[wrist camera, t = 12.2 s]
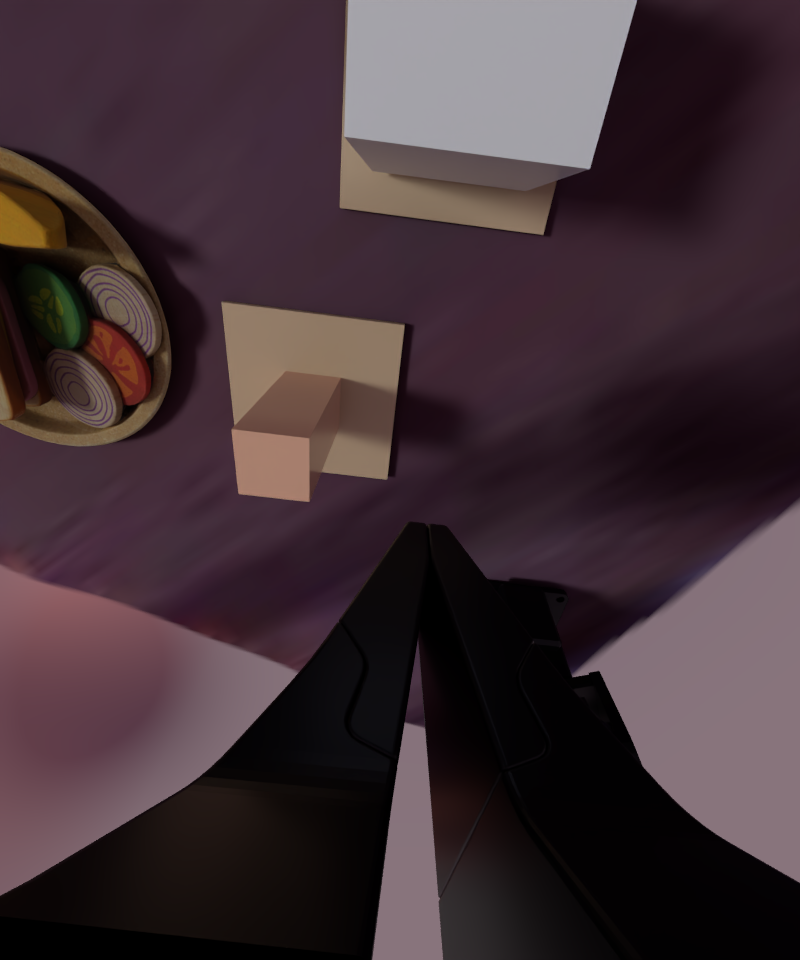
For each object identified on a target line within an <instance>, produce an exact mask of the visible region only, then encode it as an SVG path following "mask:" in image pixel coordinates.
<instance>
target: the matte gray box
mask: <svg viewBox="0 0 800 960" xmlns="http://www.w3.org/2000/svg"><path fill="white" fill-rule="evenodd" d="M636 2H637V0H348V22H347V56H346V89H345V123H344V137H345V138H346V140H347V141H348V142H349V143H350V145H351V146H352V147H353V148H354V149H355V151H356V152H357V153H358V154H359V156H360V157H361V158H362V159H363V160H364V162H365V163H366V164H367V165H368V167H369V168H370V169H371V170H372V171H375V172H382V173H390V174H398V175H405V176H413V177H421V178H428V179H436V180H444V181H451V182H459V183H467V184H474V185H482V186H490V187H497V188H505V189H513V190H520V191H528V190H531V189H534V188H537V187H539V186H542V185H545V184H548V183H551V182H554V181H557V180H560V179H563V178H566V177H568V176H571V175H574V174H577V173H580V172H583V171H586V170H589V169H590V167H591V163H592V160H593V156H594V153H595V149H596V145H597V142H598V138H599V135H600V131H601V128H602V124H603V120H604V117H605V113H606V110H607V106H608V103H609V99H610V95H611V92H612V88H613V85H614V81H615V78H616V74H617V70H618V67H619V63H620V60H621V56H622V53H623V49H624V45H625V42H626V38H627V35H628V31H629V27H630V24H631V20H632V17H633V13H634V10H635V6H636Z"/></svg>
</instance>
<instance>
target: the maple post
mask: <svg viewBox="0 0 800 960" xmlns="http://www.w3.org/2000/svg"><path fill="white" fill-rule="evenodd" d="M347 22H348V0H346V21H345V53H344V86H343V119H342V151H341V184H340V208H343V209H351V210H358V211H366V212H373V213H381V214H388V215H396V216H403V217H411V218H418V219H426V220H433V221H441V222H449V223H456V224H464V225H471V226H479V227H486V228H494V229H501V230H509V231H516V232H524V233H531V234H539V235H543V234H544V230H545V226H546V222H547V218H548V214H549V210H550V206H551V202H552V198H553V194H554V190H555V187H556V183H557V181H554V182H551V183H548V184H545V185H542V186H539V187H537V188H534V189H531V190H528V191H520V190H513V189H505V188H497V187H490V186H482V185H474V184H467V183H459V182H451V181H444V180H436V179H428V178H421V177H413V176H405V175H398V174H390V173H382V172H375V171H372V170H371V169H370V168H369V167H368V165H367V164H366V163H365V162H364V160H363V159H362V158H361V157H360V156H359V154H358V153H357V152H356V151H355V149H354V148H353V147H352V146H351V145H350V143H349V142H348V141H347V140H346V138H345V137H344V123H345V89H346V56H347Z"/></svg>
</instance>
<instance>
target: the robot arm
mask: <svg viewBox="0 0 800 960" xmlns="http://www.w3.org/2000/svg"><path fill="white" fill-rule="evenodd" d="M558 597H560V598H558ZM567 602H568V596H567V594H566V592H565V591H564V590H561V589H553V588H544V587H535V586H526V585H516V584H507V583H498V582H489V581H488V580H487V578H486V577H485V576H484V574H483V573H482V572H481V570H480V569H479V568H478V566H477V565H476V564H475V563H474V561H473V560H472V559H471V557H470V556H469V555H468V553H467V552H466V551H465V549H464V548H463V547H462V545H461V544H460V543H459V542H458V540H457V539H456V538H455V536H454V535H453V534H452V532H451V531H450V530H449V528H448V527H447V526H445V525H436V524H428V525H427V526H426V524H425V523H419V522H407V523H406V524H405V526H404V527H403V529H402V530H401V532H400V533H399V534H398V536H397V537H396V539H395V540H394V542H393V543H392V545H391V546H390V547H389V549H388V550H387V552H386V553H385V555H384V556H383V558H382V559H381V560H380V562H379V563H378V565H377V566H376V568H375V569H374V570H373V572H372V573H371V575H370V576H369V578H368V579H367V581H366V582H365V583H364V585H363V586H362V588H361V589H360V591H359V592H358V593H357V595H356V596H355V598H354V599H353V601H352V602H351V604H350V605H349V606H348V608H347V609H346V611H345V612H344V614H343V615H342V617H341V618H340V619H339V622H338V623H336V625H335V626H334V628H333V629H332V631H331V632H330V633H329V635H328V636H327V638H326V639H325V640H324V642H323V643H322V644H321V646H320V647H319V648H318V650H317V651H316V652H315V654H314V655H313V656H312V658H311V659H310V660H309V661H308V662H307V664H306V665H305V666H304V667H303V668H302V669H301V671H300V672H299V673H298V674H297V675H296V676H295V678H294V679H293V680H292V681H291V682H290V684H288V686H287V687H286V688H285V689H284V690H283V691H282V692H281V693H280V694H279V695H278V697H277V698H276V699H275V700H274V701H273V702H272V703H271V704H270V705H269V706H268V707H267V709H266V710H265V711H264V712H263V713H262V714H261V715H260V716H259V717H258V719H256V721H255V722H254V723H253V724H252V725H251V726H250V727H249V728H248V729H247V730H246V732H245V733H244V734H243V735H242V736H241V737H240V738H239V739H238V740H237V741H236V743H234V745H233V746H232V747H231V748H230V749H229V750H228V751H227V752H226V753H225V754H224V755H223V756H222V757H221V758H220V759H219V760H218V761H217V762H216V763H215V764H214V765H213V766H212V767H211V768H209V769H208V770H207V771H206V772H205V773H203V774H202V775H201V776H200V777H199V778H197V779H196V780H194V781H193V782H192V783H190V784H189V785H188V786H186V787H185V788H183V789H181V790H180V791H178V792H177V793H175V794H173V795H172V796H170V797H168V798H167V799H165V800H163V801H161V802H160V803H158V804H156V805H155V806H153V807H151V808H150V809H148V810H146V811H145V812H143V813H141V814H140V815H138V816H136V817H135V818H133V819H131V820H130V821H128V822H126V823H125V824H123V825H121V826H120V827H118V828H117V829H115V830H113V831H111V832H110V833H108V834H106V835H105V836H103V837H101V838H99V839H98V840H96V841H94V842H93V843H91V844H89V845H88V846H86V847H85V848H83V849H81V850H79V851H78V852H76V853H74V854H73V855H71V856H69V857H68V858H66V859H64V860H63V861H61V862H59V863H58V864H56V865H54V866H53V867H51V868H49V869H48V870H46V871H44V872H43V873H41V874H39V875H37V876H36V877H34V878H33V879H31V880H29V881H27V882H25V883H23V884H22V885H20V886H18V887H16V888H14V889H12V890H10V891H8V892H7V893H4V894H2V895H1V896H0V960H372V956H373V948H374V940H375V932H376V923H377V916H378V908H379V900H380V892H381V885H382V877H383V869H384V860H385V853H386V845H387V836H388V828H389V820H390V813H391V806H392V799H393V792H394V785H395V779H396V772H397V765H398V760H399V753H400V747H401V741H402V734H403V729H404V722H405V716H406V710H407V704H408V697H409V691H410V685H411V678H412V672H413V666H414V660H415V653H416V647H417V641H418V642H419V654H420V667H421V680H422V693H423V706H424V718H425V731H426V744H427V756H428V769H429V781H430V794H431V807H432V819H433V820H432V821H433V834H434V846H435V859H436V871H437V884H438V896H439V897H440V900H439V912H440V922H441V923H440V924H441V937H442V950H443V960H800V883H799V882H797V881H796V880H794V879H792V878H790V877H789V876H787V875H785V874H783V873H782V872H780V871H778V870H776V869H775V868H773V867H771V866H769V865H768V864H766V863H764V862H762V861H761V860H759V859H757V858H755V857H754V856H752V855H750V854H749V853H747V852H745V851H743V850H742V849H740V848H738V847H736V846H735V845H733V844H731V843H729V842H728V841H726V840H724V839H723V838H721V837H719V836H718V835H716V834H715V833H713V832H712V831H711V830H709V829H708V828H706V827H705V826H703V825H702V824H701V823H700V822H699V821H697V820H696V819H695V818H694V817H693V816H691V815H690V814H689V813H688V812H686V810H684V809H683V808H682V807H681V806H680V805H679V804H678V803H677V802H676V801H675V800H674V799H672V797H671V796H670V795H669V794H668V793H667V792H666V791H665V790H664V789H663V788H662V787H661V786H660V785H659V784H658V783H657V782H656V781H655V779H654V778H653V777H652V776H651V775H650V774H649V773H648V772H647V771H646V770H645V769H644V767H643V766H642V764H641V761H640V759H639V757H638V754H637V751H636V749H635V746H634V744H633V742H632V740H631V737H630V735H629V733H628V731H627V729H626V726H625V724H624V722H623V720H622V718H621V716H620V714H619V712H618V710H617V707H616V705H615V703H614V701H613V699H612V697H611V695H610V693H609V691H608V688H607V687H606V684H605V682H604V680H603V678H602V676H601V674H600V672H599V671H597V672H590V673H589V675H584V676H578V677H572V675H571V672H570V669H569V666H568V663H567V660H566V657H565V654H564V651H563V648H562V645H561V640H560V637H559V634H558V631H557V628H556V626H557V623H558V621H559V619H560V617H561V615H562V613H563V610H564V608H565V606H566V604H567Z"/></svg>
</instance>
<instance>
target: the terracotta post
mask: <svg viewBox="0 0 800 960" xmlns="http://www.w3.org/2000/svg"><path fill="white" fill-rule="evenodd" d="M222 311H223V320H224V330H225V339H226V349H227V358H228V368H229V377H230V387H231V397H232V406H233V416H234V425H235V426H234V427H233V428H232V438H233V447H234V456H235V465H236V475H237V484H238V493H239V494H244V495H253V496H262V497H271V498H279V499H288V500H297V501H306V502H310V499H311V497H312V494H313V492H314V489H315V487H316V484H317V482H318V479H319V477H320V474H321V472H326V473H335V474H343V475H352V476H360V477H369V478H377V479H386V480H387V477H388V468H389V459H390V450H391V441H392V433H393V424H394V415H395V406H396V397H397V388H398V379H399V371H400V362H401V353H402V344H403V335H404V326H405V323H398V322H390V321H382V320H374V319H366V318H358V317H350V316H342V315H334V314H326V313H318V312H310V311H303V310H295V309H287V308H279V307H271V306H263V305H255V304H247V303H239V302H231V301H223V302H222Z"/></svg>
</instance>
